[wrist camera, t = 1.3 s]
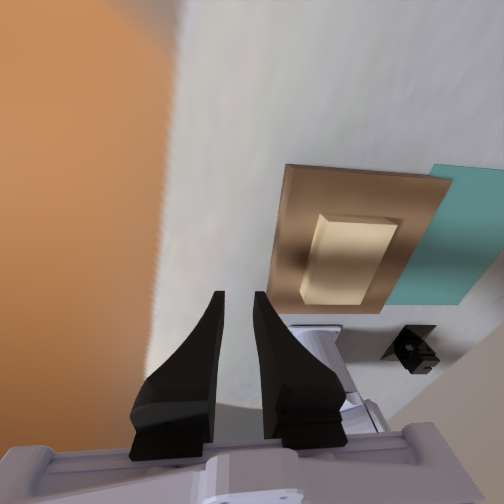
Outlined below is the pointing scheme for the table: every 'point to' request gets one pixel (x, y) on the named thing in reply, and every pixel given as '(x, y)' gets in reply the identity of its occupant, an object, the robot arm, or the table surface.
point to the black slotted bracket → (413, 349)
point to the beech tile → (344, 258)
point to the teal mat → (455, 239)
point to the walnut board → (347, 203)
